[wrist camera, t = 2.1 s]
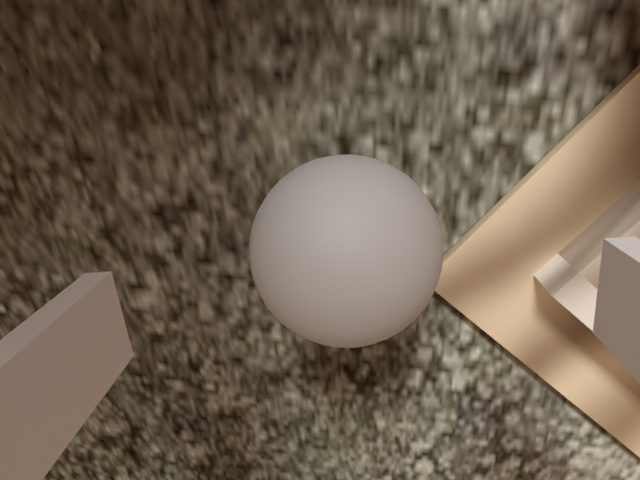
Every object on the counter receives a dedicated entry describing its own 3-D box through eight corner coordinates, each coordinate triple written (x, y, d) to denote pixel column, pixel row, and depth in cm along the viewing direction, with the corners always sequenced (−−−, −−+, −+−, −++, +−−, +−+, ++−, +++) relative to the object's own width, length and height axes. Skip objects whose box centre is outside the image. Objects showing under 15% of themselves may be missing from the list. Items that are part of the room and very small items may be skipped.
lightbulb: (435, 194, 23) (511, 309, 12) (337, 269, 24) (332, 425, 14) (353, 93, 21) (362, 126, 11) (254, 180, 23) (181, 281, 12)
